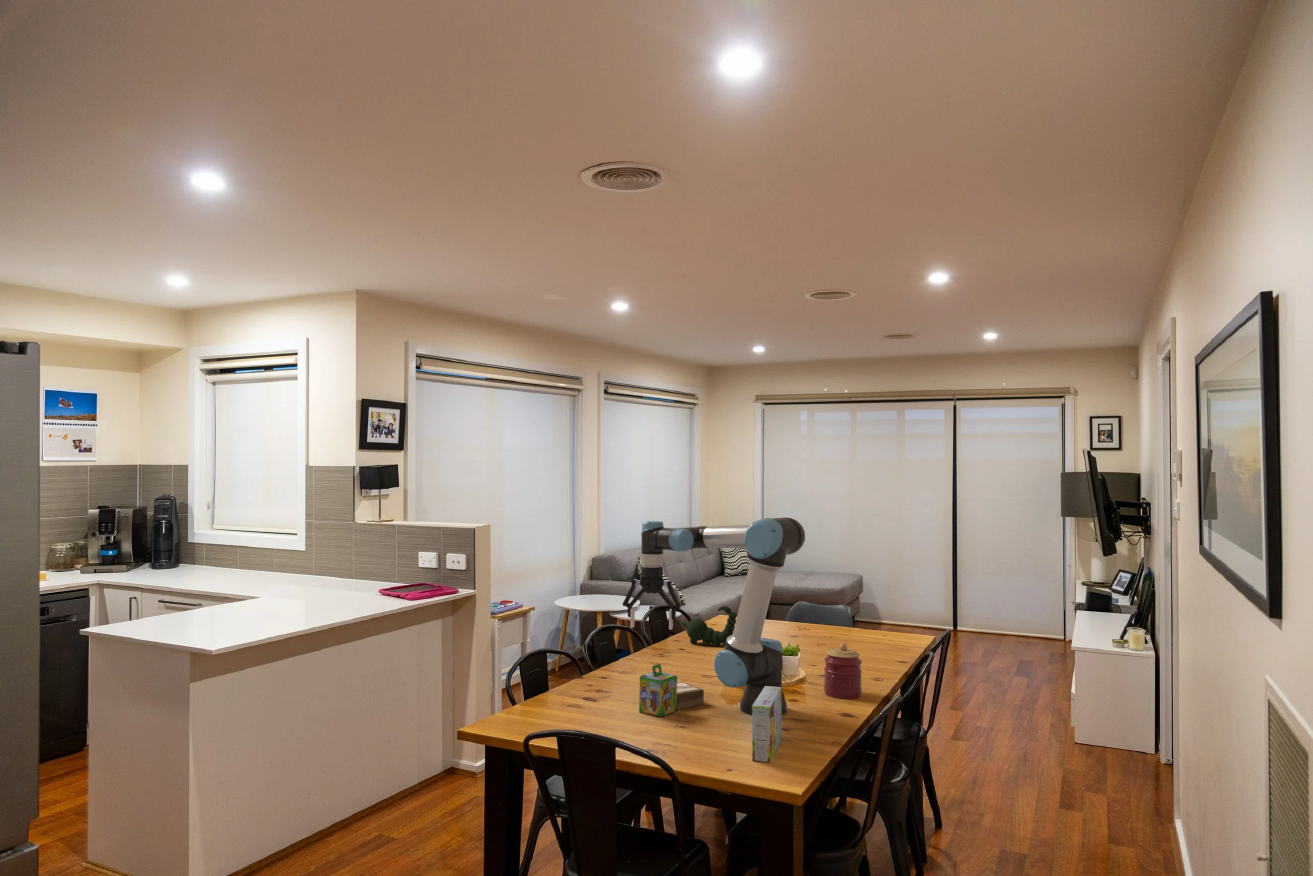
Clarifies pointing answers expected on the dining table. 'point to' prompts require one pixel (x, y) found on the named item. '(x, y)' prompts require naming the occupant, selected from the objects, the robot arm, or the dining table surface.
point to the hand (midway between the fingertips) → (651, 628)
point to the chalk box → (658, 693)
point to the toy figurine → (710, 630)
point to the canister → (843, 673)
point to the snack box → (766, 724)
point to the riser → (689, 695)
